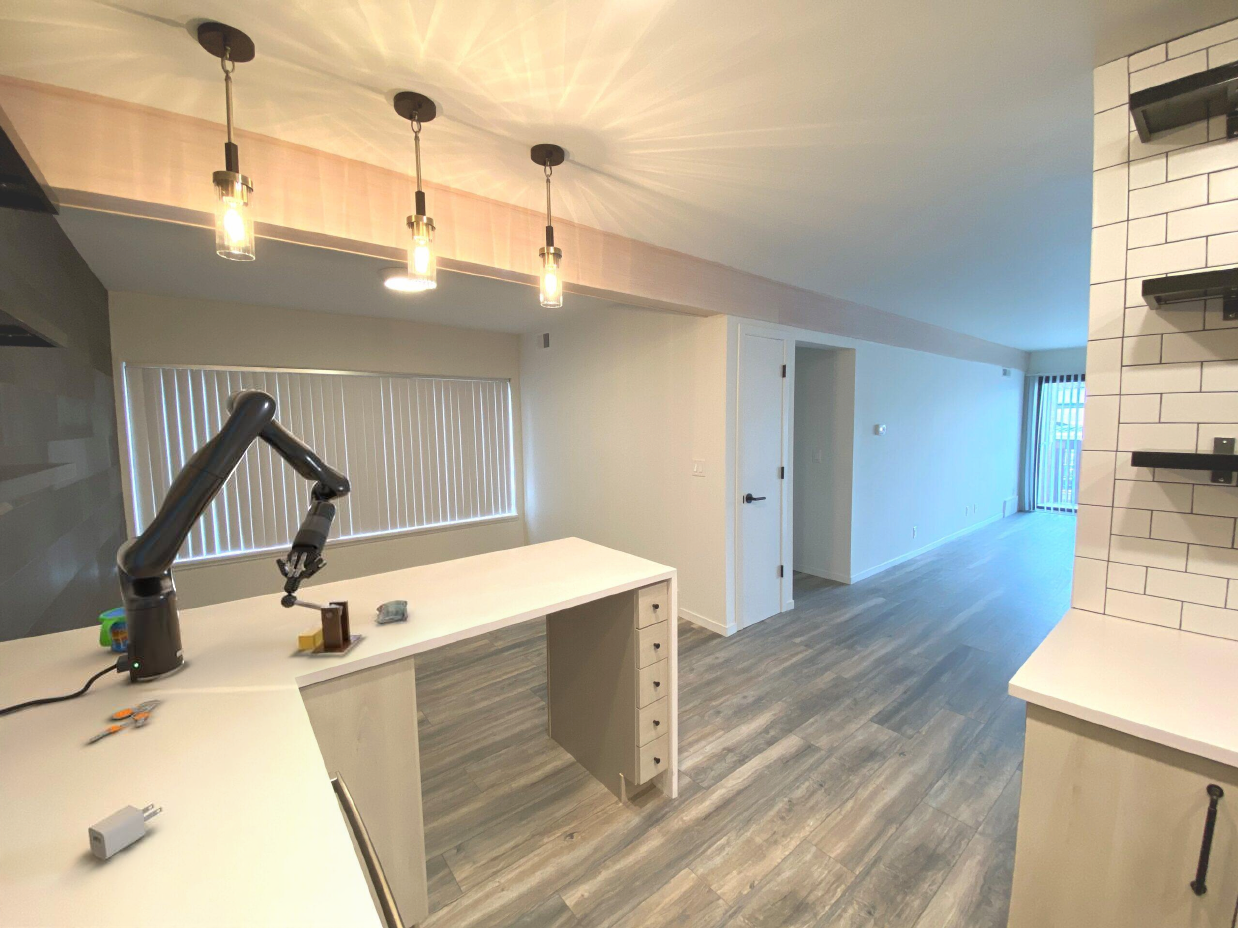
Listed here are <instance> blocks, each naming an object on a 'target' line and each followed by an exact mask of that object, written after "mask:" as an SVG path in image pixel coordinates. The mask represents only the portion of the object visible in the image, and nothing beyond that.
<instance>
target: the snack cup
mask: <svg viewBox="0 0 1238 928" xmlns="http://www.w3.org/2000/svg"><path fill="white" fill-rule="evenodd" d="M98 621H99V622H100V624H101V626H100V631H99V641H98V642H99V645H100V646H101V647H106V648H107V647H110V650H111V651H113V652H116V653H122V652H127V646H126V644H127V641H128V638H127V630H126V621H125V613H124V606H121V607H116V608H113V609H110V610H107V611H104V612H103V613H101V614H100V615H99V616H98Z"/></svg>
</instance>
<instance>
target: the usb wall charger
mask: <svg viewBox="0 0 1238 928" xmlns="http://www.w3.org/2000/svg"><path fill="white" fill-rule="evenodd" d="M150 807H151V808H150ZM154 808H155V804H154V803H151V804H149V805H147V806H145V807H144V808H142V809H139V808H138V807H136V806H133V805H130V804H128V805H126V806H124V807H122V808H121V809H119V810H117V811H115V812H114V813H112V814H111V815H108V816H107V817H105V818H103V819H102V820H100V821H98V822H96V823H95V824H92V825H91V826H90V827H88V828H87V830H88V831H87V832H88V840H89V846H90V852H91V853H92V854H93V855H95V856H97V858H101V859H102V860H107V859H109V858H110V857H111V858H112V856H114V855H116V854H117V853H118V852H120V851H122V850H123V849H125V848H127V847H128V846H130V845H131V844H133V843H134V842H136V841H138V840H139V839H141V838H142V837H144V836H145V835H146V826H145V825H146V824H145V823H147V822H148V821H149V820H150V819H152V818H154V817H156V816H157V815H159V814H160V813H161V812H163V807H162V806H160V807H158V808H157V809H155V810H153V811H151V810H152V809H154ZM150 811H151V812H150ZM148 812H149V813H148ZM146 813H148V814H146ZM145 814H146V815H145ZM144 815H145V816H144Z"/></svg>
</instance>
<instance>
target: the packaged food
mask: <svg viewBox="0 0 1238 928" xmlns="http://www.w3.org/2000/svg"><path fill="white" fill-rule="evenodd" d="M407 606H408V601H407V600H403V599H402V600H399V599H397V600H392V601H387V602H385V603H382V604H380V605H379V606H378V607H376V611H377V612H378V616H377V617H376V619H375V620H374V622H375V623H379V624H386V623H392V622H397V621H398V622H399V621H405V620H407V618H408V608H407Z"/></svg>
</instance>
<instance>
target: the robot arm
mask: <svg viewBox="0 0 1238 928" xmlns="http://www.w3.org/2000/svg"><path fill="white" fill-rule="evenodd" d="M277 406H278V405H277V402H276V399H275V398H274V397H273V395H271V394H270V393H268V392H266V391H263V390H259V389H239V390H235V391H233V392H232V393H230V394H229V395H228V397H227V398H226V400H225V409H226V412H227V413H228V415H229V417H228V418H227V420H226V422H225V423H224V425H223V426H222V427H221V429H220V430H219V431H218V432H217V434H215V435H214V436H213V437H212V438H210V439H209V440H208V441H207V442H205V444H203V445H202V446H201V447H199V449H197V450H196V451H195V452H194V453H193V454H192V455H191V456H190V457H189V458H188V460H187V461H186V462H185V464H184V465H183V466H182V467H181V469H180V470H179V471H178V473H177V475H176V476H175V477H174V479H173V481H171V484H170V486H169V488H168V490H167V492H166V494H165V497H164V499H163V502H162V504H161V506H160V509H159V511H157V514H156V516H155V517H154V519H153V520H152V521H151V523H150V524H149V525H148V526H147V528H146V529H145V530H144V531H143V532H142V533H141V534H140V535H137V536H134V537H131V538H130V539H128V540H126V541H124V543H122V545H121V546H120V547H119V549H118V551H117V553H116V566H117V574H118V580H119V581H118V582H119V588H120V589H119V590H120V594H121V595H120V596H121V598H122V604H123V607H124V613H125V621H126V630H127V638H128V641H127V644H126V646H127V651H126V653H127V654H121V655H118V658H117V660H116V663H115V664H112V665H111V666H109V667H107V668H104V669H102V670H101V671H99V672H98V673H96V674H95V675H94V676H92V677H91V678H90V679H89V680H88V681H87V682H86V684H85V685H84V687H83V688H82V689H81V690H78V691H77V692H74V693H71V694H69V695H65V696H57V697H49V698H40V699H35V700H34V699H33V700H30V701H26V702H22V703H19V704H16V705H13V706H9V707H6V708H5V707H4V708H3V709H0V716H1V715H4V714H7V713H11V712H14V711H17V710H20V709H23V708H27V707H31V706H36V705H41V704H49V703H57V702H62V701H66V700H67V701H68V700H71V699H75V698H77V697H78V698H79V697H80V696H81V695H84V694H85V693H86V692H88V690H89V689H90V688H91V686H92V685H93V683H94V682H95V681H97V680H98V679H99V678H100V677H103V676H104V675H105V674H107V673H109V672H112V671H113V670H116V674H121V673H126V672H128V673H129V681H130V684H133V683H138V682H141V683H142V682H150V681H154V680H157V679H159V678H161V677H162V676H164V675H166V674H168V673H171V672H173V671H175V670H178V668H180V667H182V666H183V665H184V663H185V661H184V656H183V653H185V649H184V647H183V646H182V645H183V644H182V635H181V627H180V617H179V609H178V607H179V606H178V598H177V589H176V586H175V581H174V577H173V574H172V565H173V563H174V561H176V560H175V559H176V558H177V556H178V554H179V552H180V550H181V549H182V547H183V545H184V543H185V541H186V539H187V537H188V535H189V533H190V532H191V530H192V529H193V527H194V526H195V525H196V523H197V522H198V521H199V520H200V518H201V517H202V516H203V515H204V514H205V512H206V511H207V510H208V508H209V507H210V506H211V504H212V503H213V502H214V500H215V499H216V498H217V496H218V495H219V494H220V492H221V490H222V489H223V488H224V486H225V485H226V483H227V481H228V480H229V479H230V478H231V475H232V474H233V472H234V471H235V470H236V469H237V467H238V465H239V463H241V460H242V459H243V457H244V455H245V454H246V452H247V451H248V449H249V448H250V446H251V445H252V444H253V442H255V440H256V439H257V438H258V437H259V438H260V439H261V440H262V441H263V442H264V443H266V444H267V445H268V446H269V447H270V448H271V449H272V450H274V451H275V453H276V454H277V455H279V456H280V457H281V458H282V459H283V460H284V461H285V462H286V463H287V464H288V465H289V466H290V468H292V469H293V470H294V471H295V472H296V473H297V474H298V475H299V476H300V477H301V478H302V479H304V480H305V481H311V482H312V481H313V482H315V483H313V485H312V487H311V489H310V495H309V496H310V498H309V508H308V510H307V512H306V513H305V517H304V519H303V520H302V522H301V523H300V526H299V528H298V531H297V533H296V535H295V537H294V539H293V542H292V545H291V550H290V551H289V552H288V553H287V555H286V556H285V557H283V558H282V559H281V558H278V559H276V561H275V563H276V565H277V567H278V570H279V571H280V574H281V575H282V576H283V577H284V578H285V579H286V581H285V584H284V586H283V590H284V592H285V593H286V594H294V595H295V594H296V592H297V591H298V590H299V587H300V584H301V582H302V581H303V580H305V579H306V580H309V579H310V578H312V577H313V576H315V574H317V573H318V572H319V571H320V570H322V569H323V568H324V567H325V566H326V565H327V561H326V560H325V558H322V553H323V551H324V548H325V545H326V543H327V541H328V538H329V535H330V533H331V528H332V524H333V522H334V519H335V517H336V514H337V507H336V505H335V504H333V502H332V501H335V500H339V499H343V498H345V497H347V496H348V495H350V493H351V492H352V491H351V490H352V486H351V485H352V484H351V482H350V480H349V479H348V478H347V476H346V475H345V474H344V473H342V472H341V471H339V470H337V469H336V468H334V467H333V466H331V465H329V464H328V463H326V462H325V461H323V460H322V458H321V457H320V456H318V455H317V454H316V453H315V451H314V450H313V449H312V448H311V447H310V446H309V445H307V444H306V443H305V442H303V440H301V439H299V438H298V437H297V436H295V435H294V434H293V433H291V432H290V431H289V430H288V429H287V428H285V427H284V426H283V425H282V424H281V423H280V422H279V421H278V420H277V419H276V418H275V416H276V413H277V408H278V407H277ZM288 567H289V568H288Z"/></svg>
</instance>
